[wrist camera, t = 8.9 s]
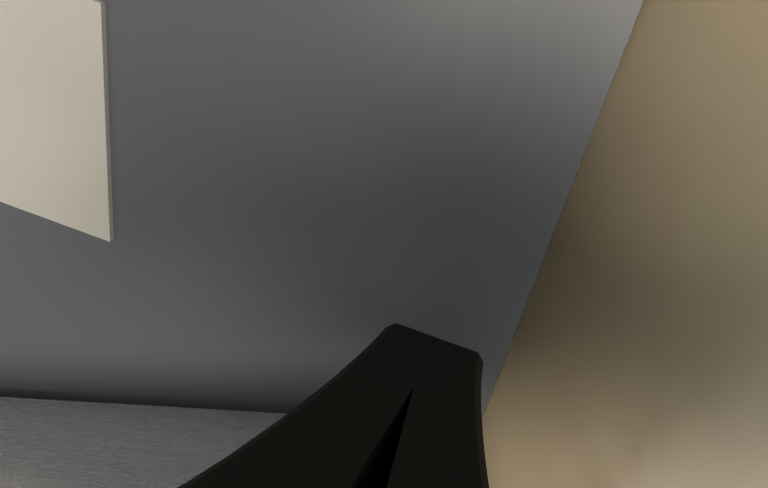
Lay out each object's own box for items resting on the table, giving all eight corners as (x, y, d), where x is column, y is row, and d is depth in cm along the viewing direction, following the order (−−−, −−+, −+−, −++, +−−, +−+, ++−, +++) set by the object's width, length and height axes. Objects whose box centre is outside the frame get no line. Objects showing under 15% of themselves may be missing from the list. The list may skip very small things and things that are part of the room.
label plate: (-132, 436, 19) (-160, 456, 18) (-384, -315, 10) (-458, -330, 9) (381, 672, 16) (370, 706, 15) (666, -71, 7) (671, -68, 6)
